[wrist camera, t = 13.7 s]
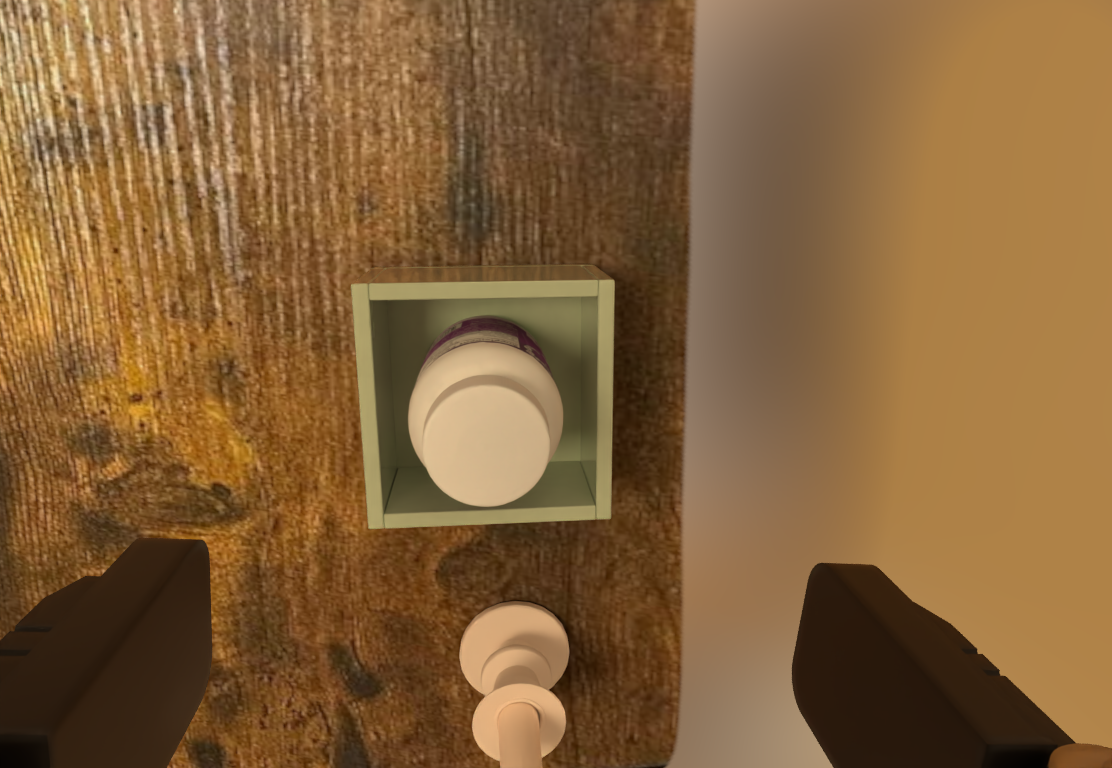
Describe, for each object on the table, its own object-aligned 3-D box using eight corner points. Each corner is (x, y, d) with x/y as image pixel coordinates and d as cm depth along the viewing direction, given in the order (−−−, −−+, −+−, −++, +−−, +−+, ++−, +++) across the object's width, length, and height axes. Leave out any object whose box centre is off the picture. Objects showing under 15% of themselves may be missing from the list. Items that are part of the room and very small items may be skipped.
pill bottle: (556, 424, 34) (584, 516, 24) (434, 443, 33) (416, 543, 24) (538, 302, 32) (561, 351, 23) (411, 321, 32) (383, 378, 23)
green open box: (386, 474, 34) (368, 530, 29) (372, 266, 32) (350, 283, 26) (591, 467, 35) (611, 519, 30) (593, 263, 33) (615, 280, 27)
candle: (460, 698, 37) (452, 887, 27) (458, 601, 36) (449, 763, 26) (567, 693, 38) (597, 877, 28) (569, 597, 37) (601, 754, 26)
